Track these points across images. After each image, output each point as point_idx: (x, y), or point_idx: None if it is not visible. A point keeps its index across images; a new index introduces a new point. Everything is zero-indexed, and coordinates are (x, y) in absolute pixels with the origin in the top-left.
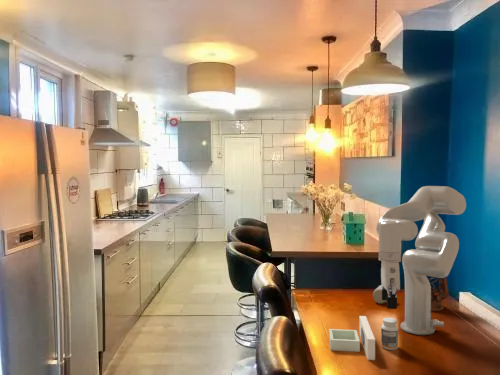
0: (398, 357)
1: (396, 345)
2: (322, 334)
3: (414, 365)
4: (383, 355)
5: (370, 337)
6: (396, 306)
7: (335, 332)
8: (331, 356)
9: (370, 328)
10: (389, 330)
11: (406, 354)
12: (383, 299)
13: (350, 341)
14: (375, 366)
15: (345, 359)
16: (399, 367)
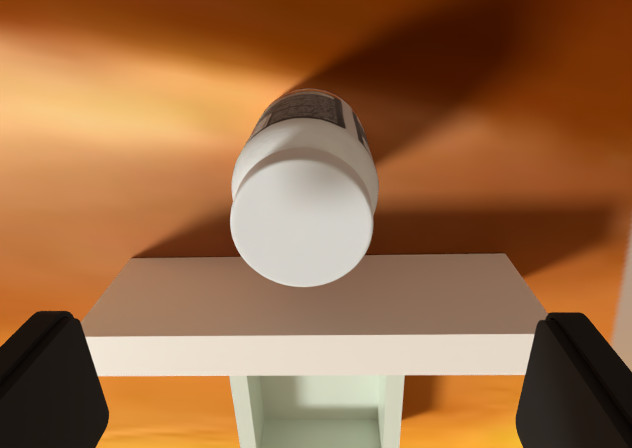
0: (469, 113)
1: (352, 111)
2: (206, 445)
3: (596, 25)
4: (441, 200)
5: (522, 356)
6: (600, 342)
7: (258, 437)
8: (456, 423)
9: (343, 336)
10: (375, 208)
11: (421, 46)
12: (102, 415)
13: (401, 393)
14: (579, 260)
15: (489, 377)
16: (610, 133)
